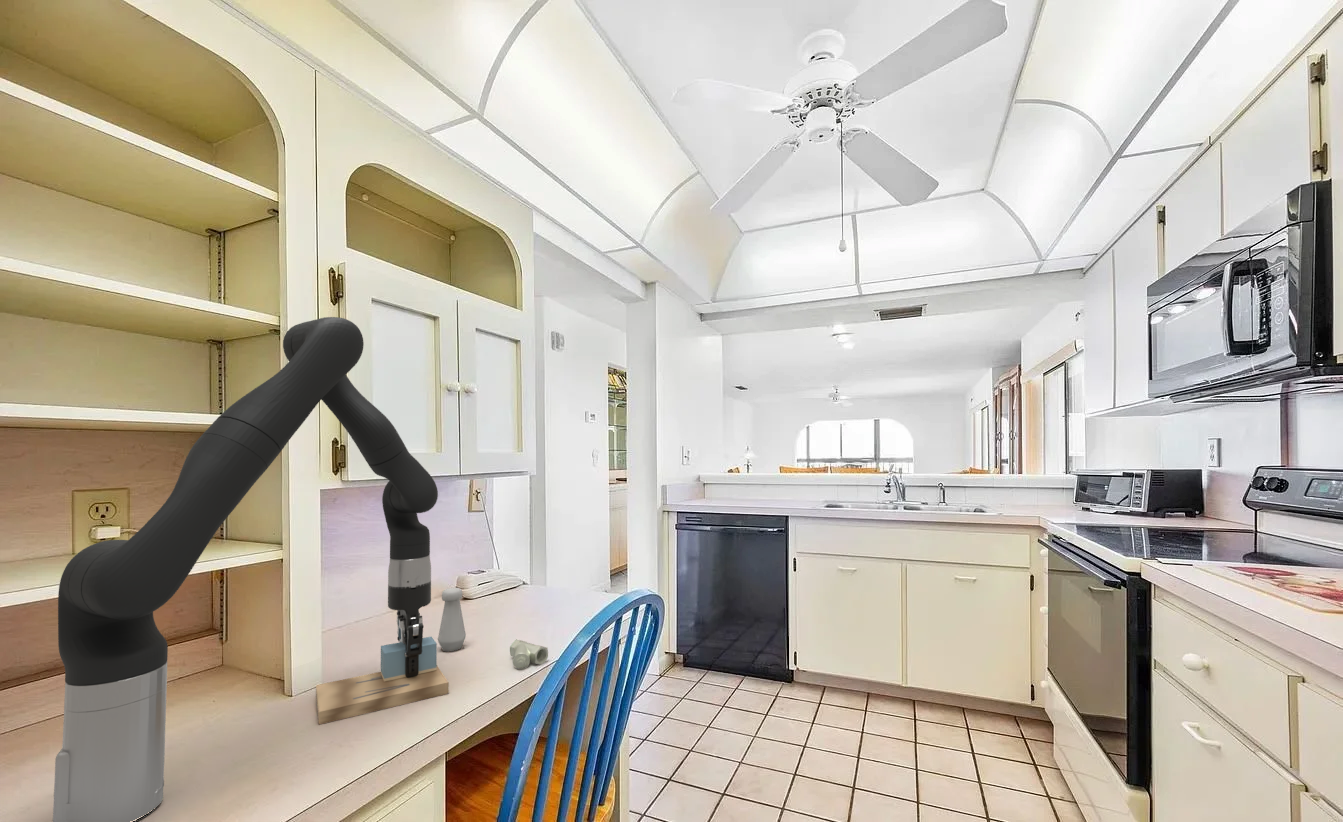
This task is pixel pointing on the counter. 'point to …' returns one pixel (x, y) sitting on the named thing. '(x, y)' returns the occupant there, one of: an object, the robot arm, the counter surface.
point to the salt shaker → (451, 621)
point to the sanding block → (396, 660)
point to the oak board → (375, 694)
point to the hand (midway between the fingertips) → (409, 671)
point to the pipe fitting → (527, 654)
